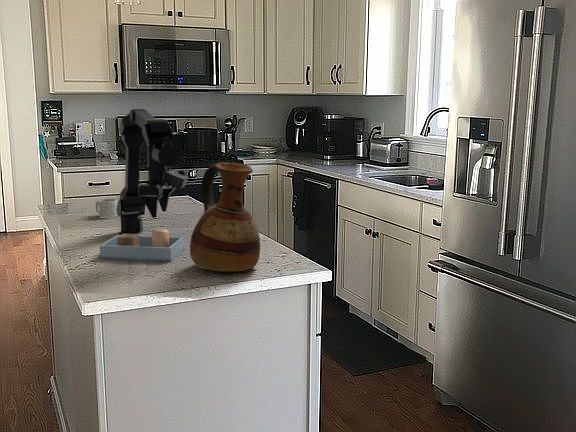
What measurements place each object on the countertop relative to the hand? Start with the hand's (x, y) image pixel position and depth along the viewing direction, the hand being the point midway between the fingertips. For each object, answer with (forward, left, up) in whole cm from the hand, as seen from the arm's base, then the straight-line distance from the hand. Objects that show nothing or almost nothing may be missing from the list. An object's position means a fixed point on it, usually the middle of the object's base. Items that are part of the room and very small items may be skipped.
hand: (159, 214), depth 190 cm
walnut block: (-10, 0, -12) cm, 16 cm away
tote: (-6, 0, -12) cm, 14 cm away
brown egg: (0, 0, -12) cm, 12 cm away
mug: (-40, +52, -13) cm, 67 cm away
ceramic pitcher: (+22, -11, -13) cm, 28 cm away
